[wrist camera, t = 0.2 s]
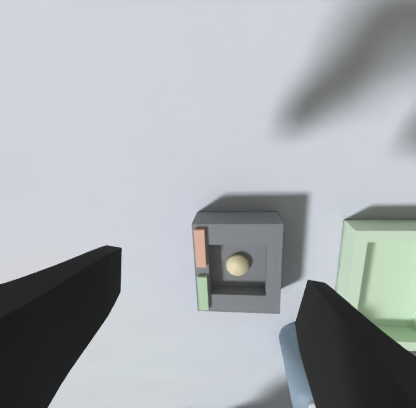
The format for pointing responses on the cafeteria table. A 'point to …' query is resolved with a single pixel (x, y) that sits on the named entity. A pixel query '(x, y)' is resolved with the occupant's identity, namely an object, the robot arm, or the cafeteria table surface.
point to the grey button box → (238, 261)
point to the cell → (295, 369)
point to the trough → (381, 275)
